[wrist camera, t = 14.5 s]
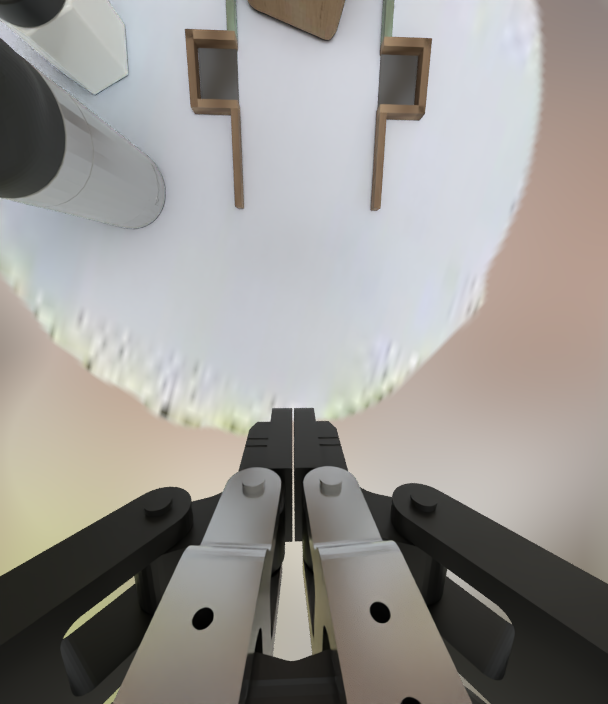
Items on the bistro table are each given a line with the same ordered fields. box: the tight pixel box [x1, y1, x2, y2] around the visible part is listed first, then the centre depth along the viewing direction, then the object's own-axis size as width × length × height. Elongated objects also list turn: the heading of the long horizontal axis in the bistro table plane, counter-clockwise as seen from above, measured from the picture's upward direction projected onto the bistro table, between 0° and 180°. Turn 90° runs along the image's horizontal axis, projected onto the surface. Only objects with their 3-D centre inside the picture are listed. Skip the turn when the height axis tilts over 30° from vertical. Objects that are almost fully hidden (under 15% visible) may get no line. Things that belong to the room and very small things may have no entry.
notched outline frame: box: [185, 0, 432, 211], centre depth 34 cm, size 26×30×2 cm
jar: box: [0, 0, 128, 95], centre depth 28 cm, size 9×8×12 cm
